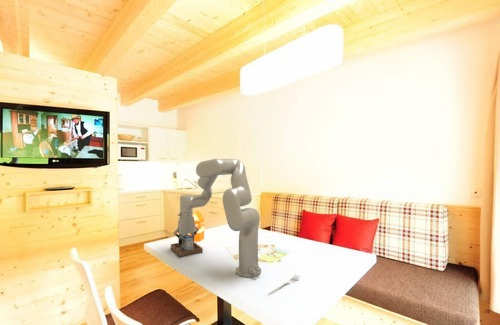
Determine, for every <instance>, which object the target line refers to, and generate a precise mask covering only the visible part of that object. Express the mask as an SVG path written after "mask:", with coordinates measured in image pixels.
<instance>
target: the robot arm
mask: <svg viewBox="0 0 500 325" xmlns="http://www.w3.org/2000/svg"><path fill="white" fill-rule="evenodd" d="M195 172H196V175H197V176H198V177H199V178H198V179H197V185H198V187H199V188H201V189H202V190H203V191H202V192H201V194H195V195H192V194H182V195H180V197H179V213H177V216H178V221H177V228H176V229H175V230H174V231H173V234H174V236H175V237H177V239H178V243H179V244H180V245H182V239H181V237H182V235H184V234H188V235H190V233H191V236H193V243H194V236H195V235H196V233H197V232H198V231H199V229H198V228H197V227H195V220H194V216H193V215H194V213H193V211H194V209H196V208H201V207H202V208H203V207H205V206H206V205H207V204H208V203H209V201H210V200H211V198H212V194H213V189H212V186H213V184H214V183H215V181H216V180H217V178H218V176H227V175H231V176H230V184H231V188H227V189H226V190H225V191H224V192H223V195H222V205H223V209H224V214H225V217H226V222H227V224H228V225H227V226H229V229H231V230H232V231H234V232H239V234H238V266H237V267H236V269H235V273H236V274H237V275H238V276H240V277H244V278H254V277H257V276H259V275H260V274H262V268H261V267H260V266H259V265H260V264H259V226H260V221H261V220H260V219H261V218H260V216H261V215H260V212H259V211H258V210H257V209H255V208H254V207H246V208H241V207H245V206H248V205H250V204H251V202H252V200H253V199H252V192H251V189H250V184H249V181H248V177H247V173H246V172H247V171H246V167H245V164H244V163H243V161H241V160H240V159H236V158H212V159H208V160H204V161H202V160H201V161H200V162H199V163H198V164H196V168H195ZM195 229H196V230H195Z"/></svg>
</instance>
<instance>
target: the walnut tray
mask: <svg viewBox="0 0 500 325" xmlns="http://www.w3.org/2000/svg"><path fill="white" fill-rule="evenodd" d="M203 248H204V247H202V246H201V245H199V244H197V242H194V243H193V249H192V250H187V251H185V250H183V249H181V245H180V244H179V242H176V243H170V249H171V251H173V253H174V254H175V255H176V256H177V257H178V258H184V257H190V256H194V255H198V254H199V255H200V254H203V250H204V249H203Z"/></svg>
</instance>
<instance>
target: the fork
mask: <svg viewBox="0 0 500 325" xmlns="http://www.w3.org/2000/svg"><path fill="white" fill-rule="evenodd" d="M300 276H301V275H298V274H295V275H294V276H292V277H291V278H290V279H289V282H285V283H282V284H281V285H279V286H278V287H277V288H275V289H274V290H272V291H270V292H268V294H267V295H268V296H271V295H273V294H275V293H276V292H278V291H279V290H280V289H281V288H283V287H284V286H285V285H291V283H290V282H292V283H293V284H295V283H296V282H297V281H298V279H300Z"/></svg>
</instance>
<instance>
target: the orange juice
mask: <svg viewBox="0 0 500 325" xmlns="http://www.w3.org/2000/svg"><path fill="white" fill-rule="evenodd" d="M193 216H194V220H195V227H197V228H198V229H199V231H198V232H197V233H196V235H195V236H194V242H195V243H197V242H199V243H201V242H202V241H203V240H204V239H205V218H204V216H203V214H202V213H201V211H200V210H197V211H196V212H194V213H193ZM195 230H196V229H195ZM189 235H191V233H190V234H189Z"/></svg>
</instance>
